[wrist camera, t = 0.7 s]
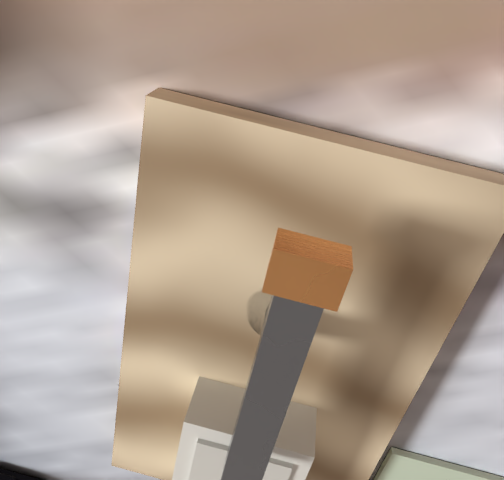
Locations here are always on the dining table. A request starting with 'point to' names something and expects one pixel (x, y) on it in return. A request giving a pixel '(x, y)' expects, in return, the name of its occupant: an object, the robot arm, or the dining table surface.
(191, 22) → the dining table surface
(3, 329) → the dining table surface
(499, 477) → the mat
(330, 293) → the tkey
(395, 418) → the board
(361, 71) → the dining table surface
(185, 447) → the cover
